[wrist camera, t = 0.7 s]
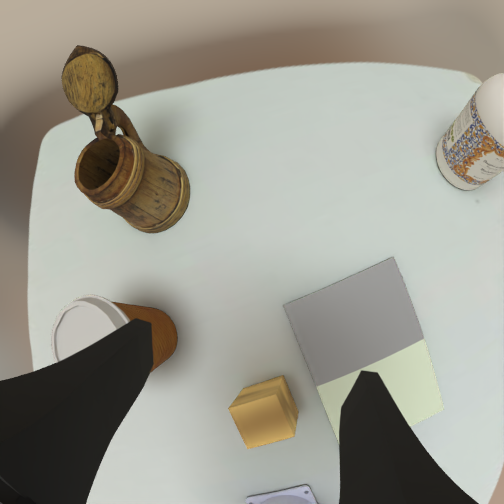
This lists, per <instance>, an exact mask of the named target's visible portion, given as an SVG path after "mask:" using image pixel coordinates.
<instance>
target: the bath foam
mask: <svg viewBox="0 0 504 504" xmlns="http://www.w3.org/2000/svg"><path fill="white" fill-rule="evenodd" d="M436 158H437V163H438V166H439V168H440V170H441V172H442V174H443V175H444V177H445V178H446V179H447V180H448V181H449V182H450V183H451V184H453V185H454V186H456V187H457V188H460V189H463V190H473V189H476V188H478V187H480V186H481V185H483V184H484V183H486V182H487V181H489V180H490V179H492V178H493V177H495V176H496V175H498V174H499V173H501V172H502V171H503V170H504V73H501V74H497V75H495V76H492V77H490V78H489V79H487V80H486V81H485V82H484V83H483V84H482V85H481V86H480V87H479V88H478V89H477V91H476V92H475V93H474V95H473V96H472V98H471V99H470V100H469V102H468V103H467V105H466V106H465V107H464V109H463V110H462V112H461V113H460V114H459V116H458V117H457V118H456V120H455V121H454V122H453V124H452V125H451V126H450V128H449V129H448V130H447V132H446V133H445V135H444V136H443V137H442V139H441V140H440V142H439V143H438V146H437V150H436Z"/></svg>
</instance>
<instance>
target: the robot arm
mask: <svg viewBox="0 0 504 504" xmlns="http://www.w3.org/2000/svg"><path fill="white" fill-rule="evenodd" d="M153 365H154V362H153V346H152V324H151V323H150V322H147V321H144V320H141V319H138V318H135V319H133V320H132V321H130V322H128V323H127V324H125V325H123V326H122V327H120V328H118V329H117V330H115V331H113V332H112V333H110V334H109V335H107V336H105V337H104V338H102V339H100V340H98V341H97V342H95V343H93V344H92V345H90V346H88V347H86V348H84V349H83V350H81V351H79V352H77V353H75V354H73V355H71V356H69V357H67V358H65V359H63V360H61V361H59V362H57V363H54V364H52V365H50V366H47V367H45V368H42V369H40V370H37V371H34V372H31V373H28V374H24V375H21V376H18V377H14V378H11V379H6V380H2V381H0V504H86V502H87V498H88V495H89V493H90V490H91V487H92V484H93V481H94V479H95V476H96V474H97V471H98V469H99V466H100V464H101V461H102V459H103V457H104V454H105V452H106V450H107V448H108V446H109V443H110V441H111V439H112V438H113V436H114V434H115V432H116V430H117V429H118V427H119V426H120V424H121V422H122V421H123V419H124V418H125V416H126V414H127V413H128V411H129V410H130V408H131V406H132V405H133V403H134V402H135V400H136V398H137V397H138V395H139V394H140V392H141V390H142V389H143V387H144V385H145V382H146V380H147V378H148V376H149V374H150V371H151V369H152V367H153ZM339 451H340V499H339V504H479V503H477V502H476V501H475V500H474V499H472V498H471V497H470V496H469V495H467V494H466V493H465V492H464V491H463V490H462V489H461V488H460V487H459V486H457V485H456V484H455V483H454V482H453V481H452V480H451V478H450V477H449V476H448V475H447V474H446V473H445V472H444V471H443V470H442V469H441V468H440V467H439V466H438V464H437V463H436V462H435V461H434V459H433V458H432V457H431V456H430V454H429V453H428V452H427V451H426V449H425V448H424V447H423V445H422V444H421V442H420V441H419V439H418V438H417V437H416V435H415V434H414V432H413V431H412V429H411V428H410V426H409V424H408V423H407V421H406V420H405V418H404V416H403V415H402V413H401V411H400V410H399V408H398V406H397V405H396V403H395V401H394V400H393V398H392V396H391V394H390V393H389V391H388V389H387V387H386V386H385V384H384V382H383V380H382V379H381V377H380V375H379V374H378V372H371V371H364V370H361V372H360V374H359V376H358V378H357V379H356V381H355V383H354V385H353V387H352V389H351V391H350V392H349V394H348V396H347V398H346V399H345V401H344V403H343V405H342V406H341V414H340V425H339ZM305 491H308V492H305ZM245 501H246V503H247V504H317V502H316V500H315V497H314V495H313V493H312V491H311V489H310V487H309V486H308V485H303V486H299V487H295V488H291V489H287V490H282V491H277V492H273V493H268V494H262V495H257V496H251V497H247V498H246V500H245ZM250 502H251V503H250Z"/></svg>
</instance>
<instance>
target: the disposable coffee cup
mask: <svg viewBox="0 0 504 504" xmlns="http://www.w3.org/2000/svg"><path fill="white" fill-rule="evenodd" d="M135 318H138V319H141V320H144V321H147V322H150V323H151V324H152V346H153V362H154V365H153V367H152V369H151V371H150V372H152V371H153V370H154V369H155V368H157V367H158V366H159V365H160V364H162V363H163V362H164V361H165V360H167V359H168V358H169V357H170V356H171V355H172V354H173V353H174V351H175V349H176V345H177V332H176V328H175V325H174V323H173V322H172V320H171V319H170V317H169V316H168V315H167V314H165V313H164V312H163V311H161V310H158V309H155V308H150V307H143V306H136V305H129V304H122V303H116V302H111V301H109V300H108V299H105V298H103V297H100V296H96V295H83V296H81V297H78V298H76V299H74V300H73V301H72V302H70V303H69V304H68V305H66V306H65V307H64V308H63V309H62V310H61V311H60V312H59V314H58V315H57V317H56V319H55V322H54V324H53V329H52V337H51V341H52V352H53V357H54V361H55V363H57V362H59V361H61V360H63V359H65V358H67V357H69V356H71V355H73V354H75V353H77V352H79V351H81V350H83V349H84V348H86V347H88V346H90V345H92V344H93V343H95V342H97V341H98V340H100V339H102V338H104V337H105V336H107V335H109V334H110V333H112V332H113V331H115V330H117V329H118V328H120V327H122V326H123V325H125V324H127V323H128V322H130V321H132V320H133V319H135Z"/></svg>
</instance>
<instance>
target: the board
mask: <svg viewBox="0 0 504 504" xmlns="http://www.w3.org/2000/svg"><path fill="white" fill-rule="evenodd" d="M283 307H284V309H285V311H286V314H287V316H288V319H289V321H290V324H291V326H292V329H293V331H294V334H295V336H296V338H297V341H298V343H299V346H300V348H301V351H302V353H303V356H304V358H305V361H306V363H307V366H308V368H309V371H310V373H311V376H312V378H313V380H314V383H315V385H316V388H317V390H318V393H319V395H320V398H321V400H322V403H323V405H324V408H325V410H326V413H327V415H328V418H329V420H330V423H331V425H332V428H333V430H334V433H335V435H336V438H337V440H338V443H339V425H340V414H341V406H342V405H343V403H344V401H345V399H346V398H347V396H348V394H349V392H350V391H351V389H352V387H353V385H354V383H355V381H356V379H357V378H358V376H359V374H360V372H361V370H364V371H371V372H378V374H379V375H380V377H381V379H382V380H383V382H384V384H385V386H386V387H387V389H388V391H389V393H390V394H391V396H392V398H393V400H394V401H395V403H396V405H397V406H398V408H399V410H400V411H401V413H402V415H403V416H404V418H405V420H406V421H407V423H408V424H409V426H410V427H411V426H413V425H415V424H417V423H419V422H421V421H423V420H425V419H427V418H429V417H431V416H432V415H434V414H436V413H438V412H440V411H442V410H444V407H443V403H442V399H441V395H440V391H439V387H438V383H437V379H436V376H435V372H434V369H433V365H432V362H431V359H430V355H429V352H428V349H427V346H426V342H425V339H424V336H423V333H422V330H421V327H420V324H419V321H418V318H417V316H416V313H415V310H414V307H413V304H412V302H411V299H410V296H409V294H408V291H407V288H406V286H405V283H404V281H403V278H402V276H401V273H400V271H399V268H398V266H397V263H396V261H395V259H394V257H392V258H390V259H387V260H385V261H383V262H381V263H379V264H377V265H375V266H372V267H370V268H368V269H366V270H364V271H362V272H359V273H357V274H355V275H353V276H351V277H348V278H346V279H344V280H342V281H339V282H337V283H335V284H333V285H330V286H328V287H326V288H323V289H321V290H319V291H316V292H314V293H312V294H309V295H307V296H305V297H302V298H300V299H297V300H295V301H293V302H290V303H288V304H285V305H283Z"/></svg>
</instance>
